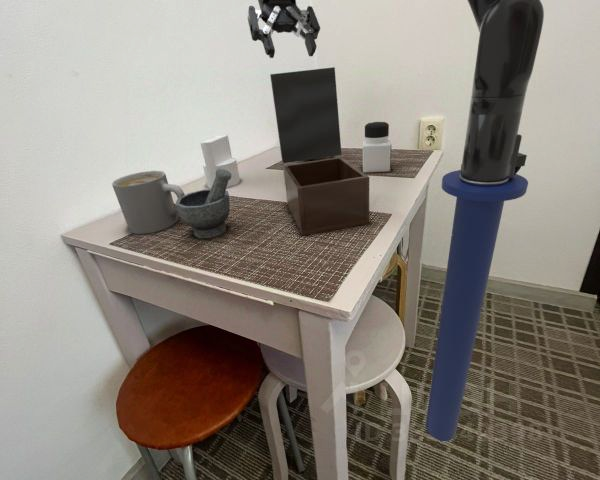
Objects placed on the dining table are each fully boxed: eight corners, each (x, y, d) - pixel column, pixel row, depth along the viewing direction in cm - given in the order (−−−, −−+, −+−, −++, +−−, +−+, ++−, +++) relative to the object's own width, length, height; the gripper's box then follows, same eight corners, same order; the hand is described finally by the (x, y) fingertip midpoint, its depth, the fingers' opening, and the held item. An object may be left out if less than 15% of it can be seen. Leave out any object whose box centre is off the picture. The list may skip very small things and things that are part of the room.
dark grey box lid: (334, 67, 63) (333, 67, 64) (270, 74, 62) (270, 74, 62) (341, 154, 69) (340, 154, 70) (282, 163, 67) (282, 163, 68)
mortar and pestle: (176, 243, 60) (156, 180, 55) (196, 221, 68) (181, 164, 63) (234, 241, 59) (220, 176, 53) (248, 219, 67) (237, 161, 61)
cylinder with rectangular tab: (218, 177, 96) (209, 135, 90) (245, 178, 93) (238, 134, 87) (200, 188, 89) (189, 143, 83) (229, 189, 86) (220, 142, 80)
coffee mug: (118, 232, 67) (100, 185, 63) (152, 212, 75) (138, 170, 71) (170, 237, 63) (154, 187, 58) (200, 216, 71) (189, 170, 66)
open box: (369, 223, 60) (369, 176, 56) (302, 235, 58) (297, 188, 54) (342, 195, 74) (341, 156, 69) (287, 204, 72) (282, 165, 68)
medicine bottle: (390, 171, 86) (392, 123, 80) (362, 173, 87) (362, 126, 81) (388, 164, 92) (390, 119, 86) (362, 165, 93) (362, 121, 87)
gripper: (240, -32, 63) (261, 40, 60) (309, -29, 67) (331, 38, 64) (238, 4, 70) (256, 69, 67) (300, 4, 74) (319, 66, 72)
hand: (292, 54), depth 66 cm, fingers open, 8 cm apart
